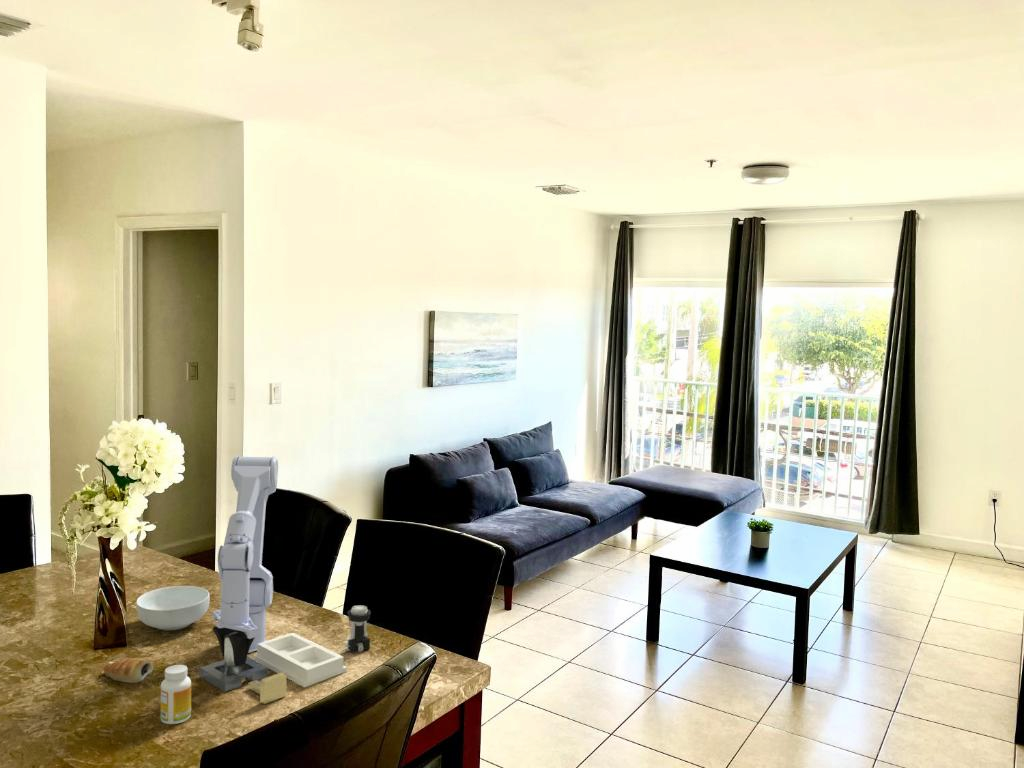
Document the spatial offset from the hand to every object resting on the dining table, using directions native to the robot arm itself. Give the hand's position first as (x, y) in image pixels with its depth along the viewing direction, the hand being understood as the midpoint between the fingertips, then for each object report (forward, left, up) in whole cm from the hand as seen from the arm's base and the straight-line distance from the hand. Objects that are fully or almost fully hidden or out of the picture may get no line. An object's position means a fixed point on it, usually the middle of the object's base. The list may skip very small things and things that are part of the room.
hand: (234, 661), depth 172 cm
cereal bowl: (-36, +5, -4) cm, 37 cm away
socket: (0, 0, -3) cm, 3 cm away
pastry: (-16, -15, -4) cm, 22 cm away
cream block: (+11, 0, -3) cm, 12 cm away
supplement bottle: (+8, -17, -4) cm, 19 cm away
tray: (+5, +13, -3) cm, 14 cm away
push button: (+7, +27, -4) cm, 28 cm away
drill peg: (0, 0, -3) cm, 3 cm away
